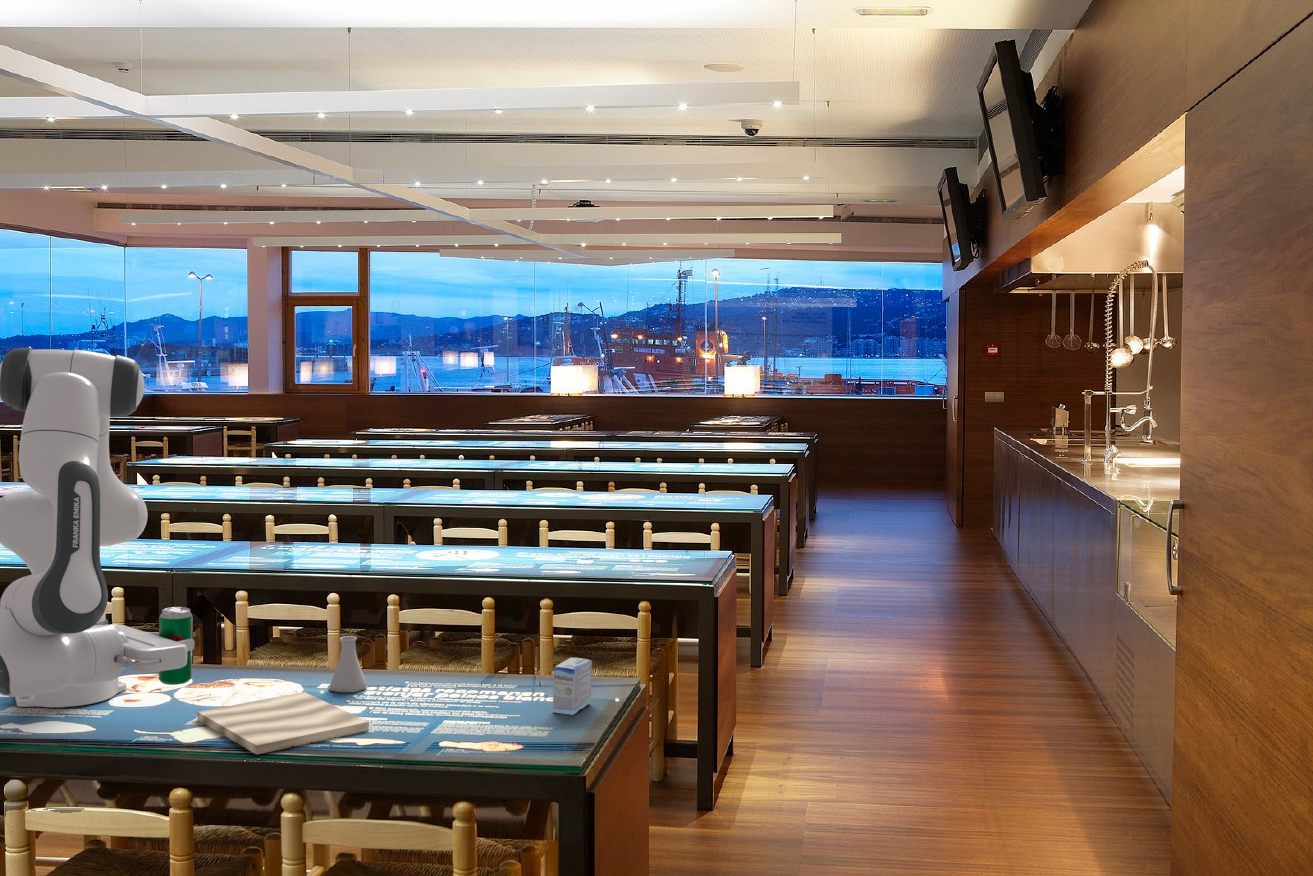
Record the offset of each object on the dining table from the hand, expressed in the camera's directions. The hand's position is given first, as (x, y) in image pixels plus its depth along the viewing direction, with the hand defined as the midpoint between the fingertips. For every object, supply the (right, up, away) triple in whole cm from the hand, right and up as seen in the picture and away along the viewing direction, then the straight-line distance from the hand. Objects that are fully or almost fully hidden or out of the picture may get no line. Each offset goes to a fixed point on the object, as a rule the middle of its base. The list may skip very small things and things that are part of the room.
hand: (181, 640), depth 196 cm
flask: (+19, -15, +33) cm, 41 cm away
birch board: (+14, -16, +9) cm, 23 cm away
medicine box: (+63, -17, +22) cm, 69 cm away
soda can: (-1, -7, 0) cm, 7 cm away
